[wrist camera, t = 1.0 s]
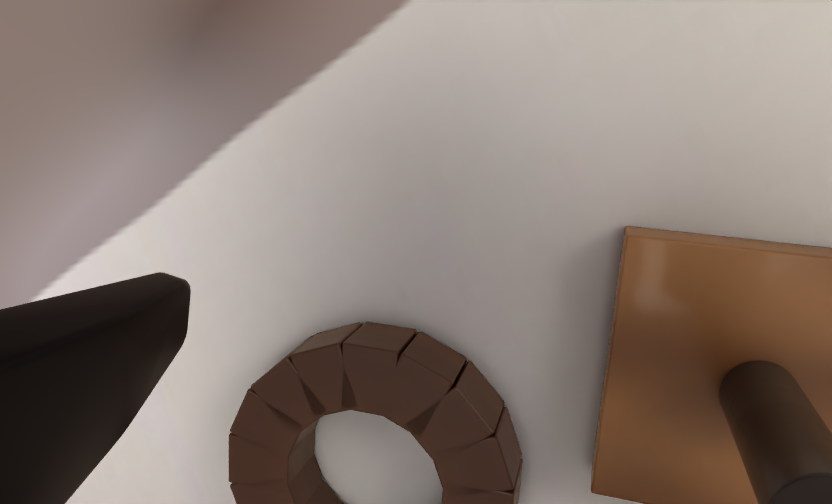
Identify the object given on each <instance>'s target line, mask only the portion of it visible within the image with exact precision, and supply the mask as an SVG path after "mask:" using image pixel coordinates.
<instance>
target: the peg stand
mask: <svg viewBox="0 0 832 504" xmlns="http://www.w3.org/2000/svg"><path fill="white" fill-rule="evenodd" d="M591 492H592V493H595V494H600V495H605V496H610V497H615V498H620V499H625V500H630V501H635V502H640V503H645V504H832V248H825V247H816V246H807V245H798V244H788V243H779V242H770V241H761V240H752V239H742V238H733V237H724V236H715V235H705V234H696V233H687V232H678V231H668V230H659V229H650V228H641V227H631V226H627V227H625V232H624V239H623V246H622V253H621V260H620V268H619V275H618V282H617V289H616V297H615V304H614V311H613V318H612V325H611V333H610V340H609V347H608V354H607V362H606V369H605V376H604V383H603V391H602V398H601V405H600V412H599V419H598V427H597V434H596V441H595V448H594V456H593V463H592V476H591Z"/></svg>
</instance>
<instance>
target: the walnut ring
mask: <svg viewBox="0 0 832 504" xmlns="http://www.w3.org/2000/svg"><path fill="white" fill-rule="evenodd" d="M465 361H466V358H465V357H464V356H462V355H461V354H459V353H457V352H455V351H454V350H452V349H450V348H449V347H447V346H445V345H443V344H442V343H440V342H438V341H436V340H435V339H433V338H431V337H429V336H428V335H426V334H424V333H423V332H419V333H418V334H417V335H416V330H415V329H410V328H403V327H397V326H390V325H384V324H377V323H371V322H365V323H364V324H362V323H356V324H352V325H348V326H344V327H340V328H336V329H332V330H328V331H324V332H320V333H317V334H316V335H315V336H311V337H310V338H309V339H307V340H306V341H305V342H304V343H302V344H301V345H300V346H299V347H297V348H296V349H295V350H294V351H292V352H291V353H290V354H289V355H287V356H286V357H285V358H284V359H282V360H281V361H280V362H279V363H278V364H276V365H275V366H274V367H273V368H272V369H270V370H269V371H268V372H267V373H266V374H264V375H263V376H262V377H261V378H260V379H258V380H257V381H256V382H255V383H254V384H252V386H251V388H250V389H248V391H247V393H246V396H245V398H244V400H243V402H242V404H241V407H240V409H239V411H238V413H237V416H236V418H235V420H234V422H233V425H232V427H231V429H230V431H231V433H230V434H229V482H232V484H231V485H230V487H231V490H232V492H233V495H234V498H235V500H236V503H237V504H344V503H343V502H341V501H340V499H339V498H338V497H337V496H336V495H335V493H334V492H333V491H332V490H331V489H330V487H329V486H328V485H327V484H326V482H325V481H324V480H323V478H322V475H321V472H320V469H319V467H318V464H317V461H316V458H315V456H314V436H315V426H316V424H317V422H318V420H319V418H320V417H322V416H323V415H327V414H332V413H337V412H341V411H346V410H355V411H360V412H365V413H371V414H376V415H381V416H384V417H386V418H387V419H389V420H391V421H392V422H394V423H396V424H397V425H399V426H401V427H402V428H404V429H406V430H407V431H409V432H411V434H412V435H413V436H414V437H415V439H416V440H417V441H418V442H419V443H420V445H421V446H422V447H423V448H424V449H425V451H426V452H427V453H428V454H429V456H430V457H431V458H432V459H433V461H434V464H435V467H436V469H437V472H438V475H439V478H440V481H441V484H442V487H443V494H442V504H518V497H519V488H520V479H521V470H522V462H523V461H522V459H521V455H522V453H521V450H520V447H519V444H518V441H517V438H516V435H515V431H514V428H513V425H512V422H511V419H510V416H509V413H508V410H507V408H506V407H505V406H504V407H503V405H504V401H503V400H502V399H501V397H500V396H499V395H498V394H497V393H496V391H495V390H494V389H493V388H492V386H491V385H490V384H489V383H488V382H487V380H486V379H485V378H484V377H483V376H482V374H481V373H480V372H479V371H478V369H477V368H476V367H475V366H474V365H473V363H472V362H471V361H468V362H467V363H465ZM464 363H465V364H464Z"/></svg>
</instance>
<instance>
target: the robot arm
mask: <svg viewBox="0 0 832 504" xmlns="http://www.w3.org/2000/svg"><path fill="white" fill-rule="evenodd" d="M190 293H191V290H190V285H189V283H188V282H187V281H186V280H184V279H181V278H178V277H175V276H172V275H169V274H166V273H161V272H159V273H154V274H150V275H146V276H142V277H137V278H133V279H129V280H125V281H120V282H116V283H112V284H108V285H103V286H99V287H95V288H90V289H86V290H82V291H78V292H73V293H69V294H65V295H61V296H56V297H52V298H48V299H44V300H39V301H35V302H31V303H27V304H22V305H18V306H14V307H9V308H5V309H1V310H0V504H65V503H66V502H67V500H68V499H69V498H70V497H71V496H72V495H73V493H74V492H75V491H76V490H77V489H78V487H79V486H80V485H81V484H82V483H83V481H84V480H85V479H86V478H87V477H88V475H89V474H90V473H91V472H92V471H93V470H94V468H95V467H96V466H97V465H98V464H99V462H100V461H101V460H102V459H103V458H104V456H105V455H106V454H107V453H108V452H109V451H110V449H111V448H112V447H113V446H114V444H115V443H116V442H117V441H118V439H119V438H120V437H121V436H122V434H123V433H124V432H125V430H126V429H127V427H128V426H129V425H130V423H131V422H132V420H133V419H134V417H135V416H136V414H137V413H138V411H139V410H140V408H141V407H142V405H143V404H144V402H145V401H146V399H147V398H148V396H149V395H150V393H151V392H152V390H153V389H154V387H155V386H156V384H157V383H158V381H159V380H160V378H161V377H162V375H163V374H164V372H165V371H166V369H167V368H168V366H169V365H170V363H171V362H172V360H173V359H174V357H175V356H176V354H177V353H178V351H179V350H180V348H181V347H182V345H183V343H184V340H185V337H186V334H187V328H188V316H189V305H190Z"/></svg>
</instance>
